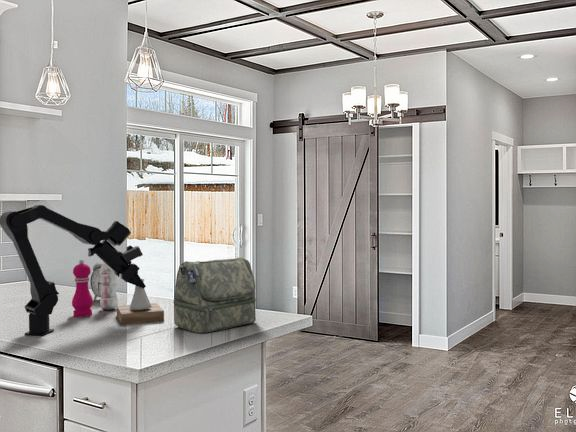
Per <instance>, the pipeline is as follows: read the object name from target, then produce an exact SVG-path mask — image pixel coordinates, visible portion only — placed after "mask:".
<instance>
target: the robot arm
mask: <svg viewBox="0 0 576 432" xmlns="http://www.w3.org/2000/svg"><path fill="white" fill-rule="evenodd" d="M39 219H40V220H41V221H44V222H46V223H48V224H50V225H53V226H55V227H56V228H58V229H61V230H63V231H65V232H68V233H69V234H70V235H72V236H73V237H74V238H75V239H76V240H78V241H79V242H81V243H82V244H84V245H91V246H93V247H88V248H87V250H88V251H87V253H88V254H87V255H88V257H89V258H90V257H93V256H94V255H96V256H97V257H98V258H100V260H102V262H103V261H104V262H105V263H106V264H107V265H108V266H109V267H110V268H111V269H112V270H113V271H114V273H115V274H116V275H117V276H116V277H118V278H120V279H121V280H123V281H124V283H128V284H131V285H134V286H135V285H136V286H138V287H141V288H144V289H145V288H146V287H147V285H146V284H145V283H143V281H142V280H141V279H142V277H140V275H139V271H140V267H139V266H138V265H137V264H135V263H132V261H133V260H135V259H137V258H141V257H142V256H143V255H144V254H143V252H142V249H140V246H138V245H136V246H132V245H127V246H126V247H125V249H126V250H125V251H124V252H121V251H119V250H118V249H116V247H117V246H118V247H120V246H121V245H122V244H123V243H124V242H125V241H126V240H127V239H128V237H130V236H131V234H132V232H131V230H130V229H129V228H128V227H127V226H125V225H124V224H122V223H121V222H119V221H118V220H115V221H114V222H113V223H112V224H111V226H109V227H108V229H107V230H106V231H105V230H104V231H103V230H101V229H100V228H99V227H95V226H92V225H88V224H85V223H84V224H83V223H79V222H77V221H75V220H73V219H71V218H69V217H66V216H65V215H63V214H60V213H58V212H57V211H54V210H52V209H50V208H48V207H47V206H45V205H43V204H35V205H33V206H31V207H27V208H24V209H21V210H17V211H13V210H10V211H4V212H3V213H2V214H1V215H0V227H1V228H2V230H3V231H4V233H5V234H6V236H7V237H8V238H9V239H10V240H11V242H12V243H13V246H14V248H15V250H16V253H17V255H18V257H19V259H20V262H21V264H22V266H23V267H22V268H24V271H25V274H26V276H27V278H28V282H29V287H30V288H29V289H30V295H31V299H30V300H28V302H27V303H26V304H25V305H24V309H25V311H26V313H28V329H29V330H28V331H26V332H24V335H26V336H46V335H47V334H49V333H50V334H51V333H53V332H54V331H55V329H54V328H50V315H52V314H53V310H54V307H56V305H57V304H58V302H59V296H58V295H60V293H59V292H58V290H57V288H56V287H57V286H56V284H55V282H54V281H50V280H47V279H46V277H45V276H44V274H43V270H42V268H41V266H40V263H39V261H38V258H37V255H36V254H35V251H34V249H33V247H32V244H31V242H30V239H29V228H28V224H30V223H34V222H35V221H37V220H39ZM104 262H103V263H104Z"/></svg>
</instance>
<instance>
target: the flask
mask: <svg viewBox="0 0 576 432" xmlns="http://www.w3.org/2000/svg"><path fill="white" fill-rule="evenodd" d="M141 280H142V281H143V283H144V282H145V279H144V278H141ZM144 284H145V283H144ZM151 304H152V303H151V302H150V300H149V297H148V295H147V292H146V289H145V288H141V287H138V286H136V285H134V292H133V294H132V299H131V302H130V304H129V305H130V309H131V310H142V309H148V308H151V307H152V306H151Z"/></svg>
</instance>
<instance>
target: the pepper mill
mask: <svg viewBox="0 0 576 432" xmlns="http://www.w3.org/2000/svg"><path fill="white" fill-rule="evenodd" d="M72 274H73V275H74V277H75V278H74V282H75V285H76V286H75V292H74V294H73V297H72V301H71V306H72V308H74V310H73V317H75V318H76V317H77V318H82V317H83V318H85V317H90V316H92V315H93V309H91V308H92V307H93V304H94V298H93V296H92V294H91V292H90V289H89V282H90V277H89V276H91V274H92V271H91V267H90V266H89V264H86V263H85V260H84V259H80V260H79V261H78V264H76V265H75V266H74V267H73V269H72Z"/></svg>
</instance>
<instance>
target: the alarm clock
mask: <svg viewBox="0 0 576 432" xmlns="http://www.w3.org/2000/svg"><path fill="white" fill-rule="evenodd" d="M102 265H103V263H102V262H99V263H98V262H97V263H96V264H94V265H93V267H92V272H91V274H90V278H89V282H90V288H91V291H92V293H93V295H94V298H93V300H96V299H97V298H101V278H100V268H101V266H102Z"/></svg>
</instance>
